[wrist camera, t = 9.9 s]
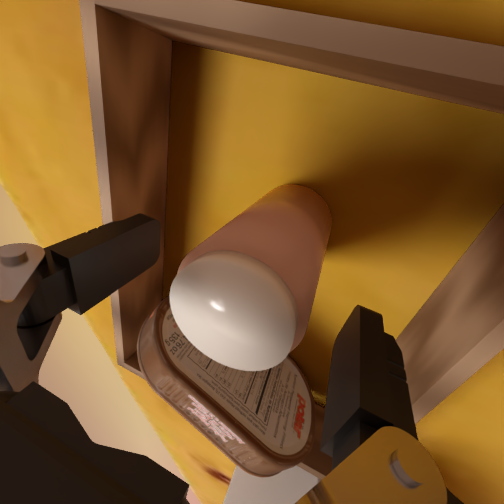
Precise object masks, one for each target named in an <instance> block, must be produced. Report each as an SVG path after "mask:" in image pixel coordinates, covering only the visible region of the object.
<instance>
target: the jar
mask: <svg viewBox="0 0 504 504" xmlns="http://www.w3.org/2000/svg"><path fill="white" fill-rule="evenodd" d="M331 227H332V219H331V214H330V210H329V208H328V206H327V204H326V202H325V201H324V200H323V198H322V197H321V196H320V195H319V194H317V193H316V192H315V191H313V190H311V189H310V188H307V187H305V186H301V185H295V184H289V185H283V186H280V187H277V188H275V189H273V190H271V191H270V192H269V193H267V194H266V195H265V196H263V197H262V198H261V199H259V200H258V201H257V202H255V203H254V204H253V205H251V206H250V207H249V208H247V209H246V210H245V211H243V212H242V213H241V214H239V215H238V216H237V217H235V218H234V219H233V220H231V221H230V222H229V223H227V224H226V225H225V226H223V227H222V228H221V229H219V230H218V231H217V232H215V233H214V234H213V235H211V236H210V237H209V238H208V239H206V240H205V241H204V242H202V243H201V244H200V245H198V246H197V247H196V248H194V249H193V250H192V251H190V252H189V253H188V254H187V255H186V256H185V258H184V259H183V260H182V262H181V264H180V266H179V269H178V272H177V276H176V277H175V278H174V280H173V282H172V285H171V288H170V306H171V310H172V314H173V316H174V319H175V321H176V323H177V325H178V326H179V328H180V330H181V331H182V333H183V334H184V335H185V336H186V338H187V339H188V340H189V341H190V342H191V343H192V344H193V345H194V346H195V347H196V348H197V349H198V350H200V351H201V352H202V353H203V354H205V355H206V356H208V357H209V358H211V359H213V360H215V361H216V362H218V363H221V364H223V365H225V366H228V367H231V368H234V369H238V370H244V371H261V370H266V369H269V368H272V367H274V366H276V365H278V364H279V363H281V362H282V361H283V360H284V359H285V358H286V357H287V355H288V353H289V352H291V351H292V350H293V349H295V348H296V347H297V346H298V345H299V343H300V342H301V341H302V339H303V337H304V335H305V332H306V330H307V326H308V321H309V317H310V313H311V309H312V305H313V301H314V297H315V293H316V289H317V285H318V281H319V277H320V273H321V269H322V264H323V260H324V256H325V252H326V248H327V244H328V240H329V236H330V232H331Z"/></svg>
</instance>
